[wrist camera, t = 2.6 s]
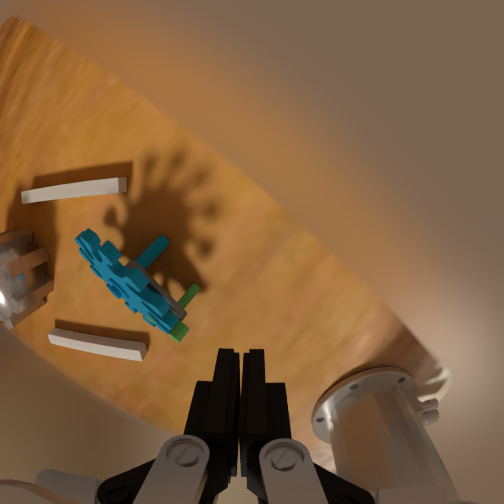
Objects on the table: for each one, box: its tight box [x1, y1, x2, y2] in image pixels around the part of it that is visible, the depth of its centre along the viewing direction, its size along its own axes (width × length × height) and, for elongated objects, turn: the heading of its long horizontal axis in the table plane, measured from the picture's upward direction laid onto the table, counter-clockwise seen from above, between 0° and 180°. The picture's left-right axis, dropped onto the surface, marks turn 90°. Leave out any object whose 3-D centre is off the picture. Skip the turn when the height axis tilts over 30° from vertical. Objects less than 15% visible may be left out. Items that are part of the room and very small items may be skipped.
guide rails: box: [21, 177, 147, 361], centre depth 22 cm, size 12×16×2 cm
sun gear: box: [0, 228, 54, 330], centre depth 19 cm, size 9×9×9 cm
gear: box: [74, 228, 200, 342], centre depth 20 cm, size 11×6×10 cm
